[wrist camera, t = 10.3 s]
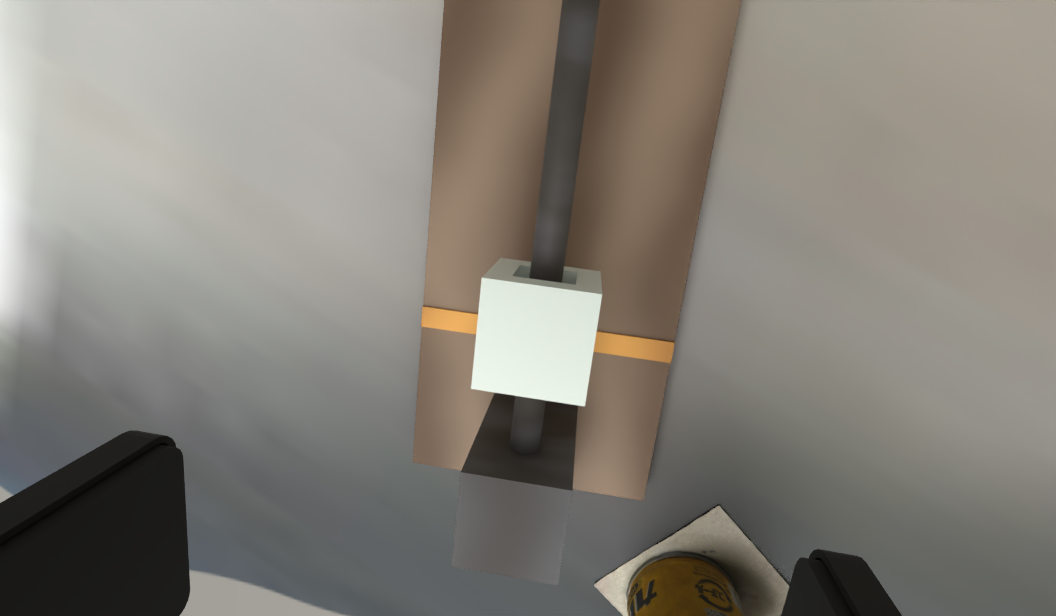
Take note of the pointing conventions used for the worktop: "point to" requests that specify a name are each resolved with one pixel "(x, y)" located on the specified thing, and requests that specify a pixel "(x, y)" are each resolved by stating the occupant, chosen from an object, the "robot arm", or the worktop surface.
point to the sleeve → (536, 333)
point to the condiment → (698, 575)
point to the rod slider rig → (562, 244)
